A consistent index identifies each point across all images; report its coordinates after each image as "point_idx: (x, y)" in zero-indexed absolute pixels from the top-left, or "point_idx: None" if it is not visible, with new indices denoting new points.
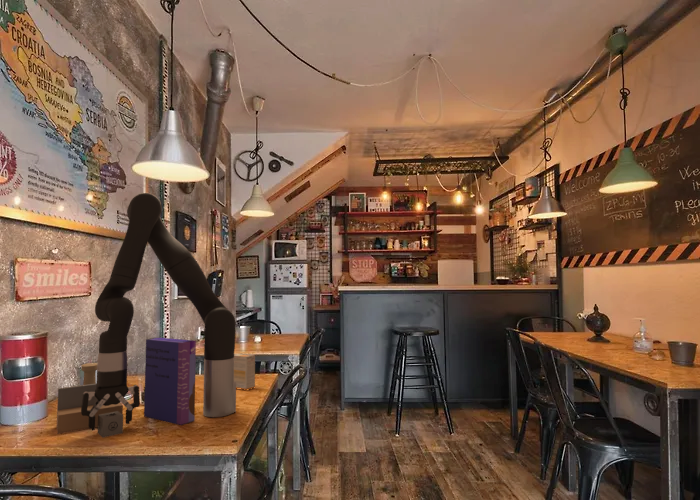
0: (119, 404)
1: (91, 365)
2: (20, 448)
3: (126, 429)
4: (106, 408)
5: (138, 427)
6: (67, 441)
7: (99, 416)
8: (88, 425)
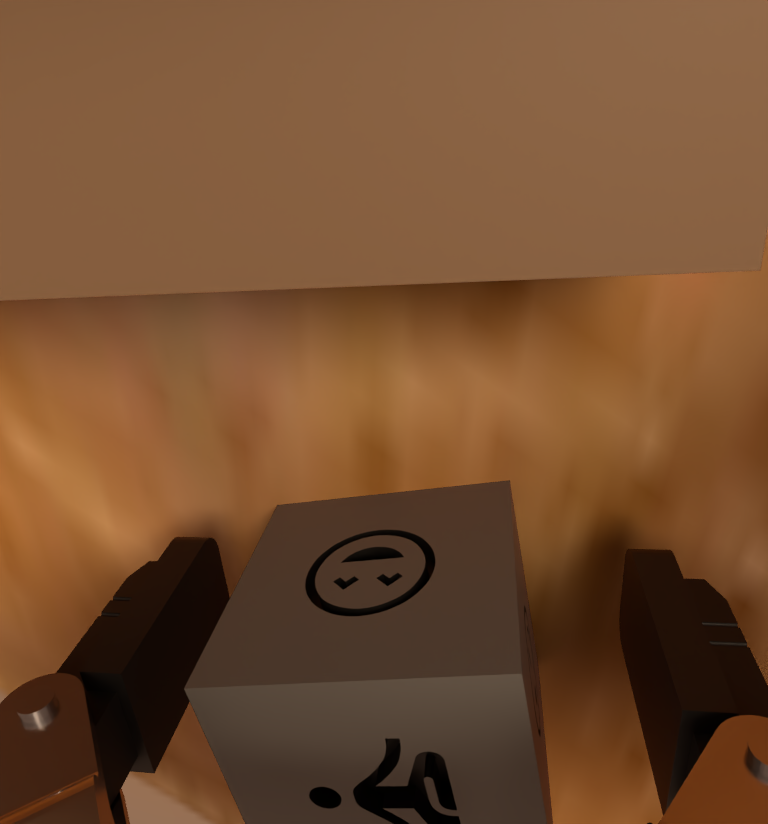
0: (703, 88)
1: None
2: None
3: (606, 573)
4: (314, 282)
5: (762, 587)
6: (19, 582)
7: (215, 739)
8: (125, 586)
